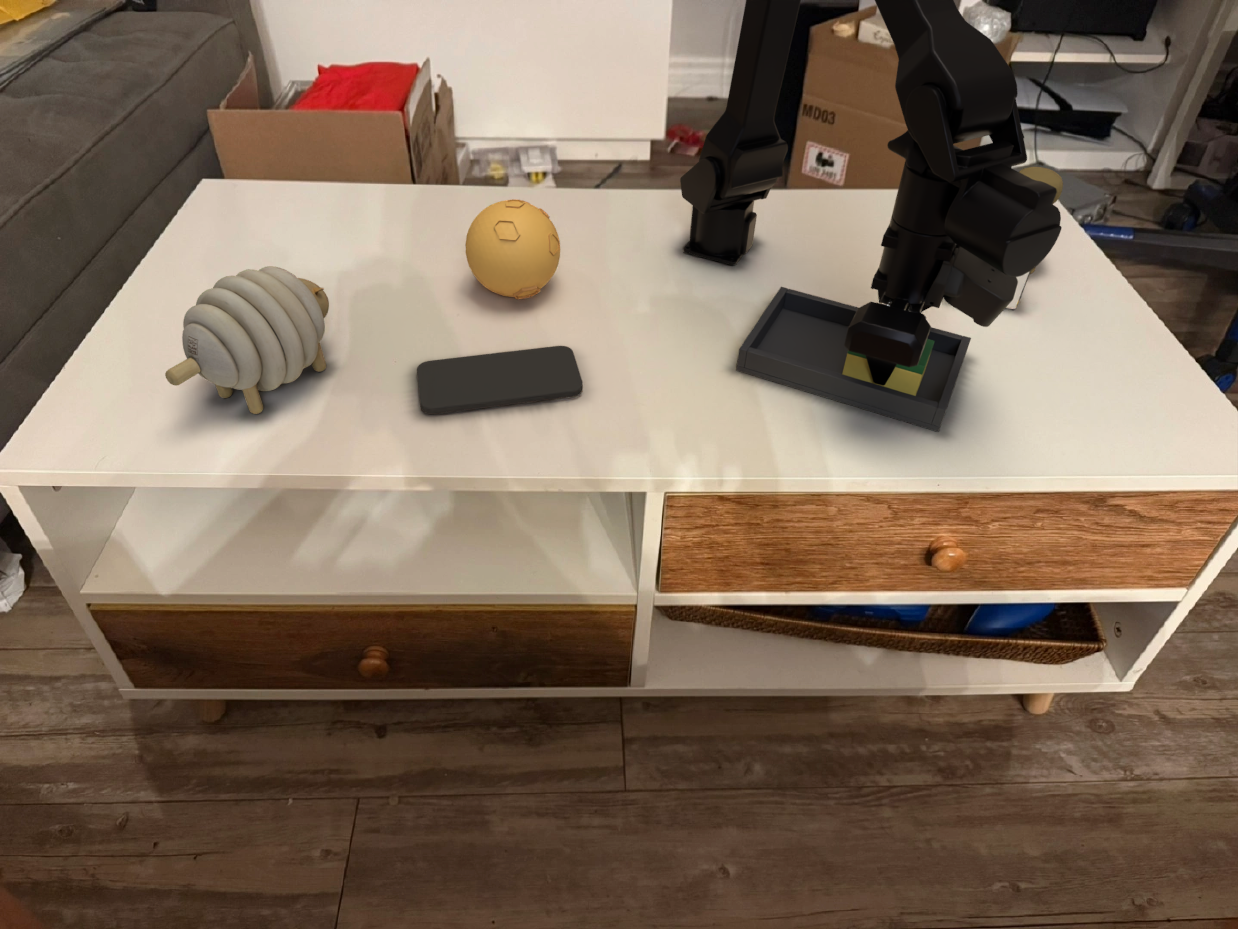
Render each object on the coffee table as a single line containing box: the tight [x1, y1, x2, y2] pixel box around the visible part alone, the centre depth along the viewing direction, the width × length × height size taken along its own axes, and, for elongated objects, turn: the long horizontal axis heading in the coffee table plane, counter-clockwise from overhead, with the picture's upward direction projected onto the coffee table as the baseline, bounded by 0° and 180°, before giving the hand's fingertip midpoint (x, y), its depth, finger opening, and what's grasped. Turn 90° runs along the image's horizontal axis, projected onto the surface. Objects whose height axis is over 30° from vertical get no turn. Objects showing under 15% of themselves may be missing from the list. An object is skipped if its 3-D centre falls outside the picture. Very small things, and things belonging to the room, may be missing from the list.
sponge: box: [842, 339, 935, 396], centre depth 84 cm, size 7×4×4 cm, turn 64°
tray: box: [735, 286, 972, 433], centre depth 87 cm, size 20×13×3 cm, turn 64°
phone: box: [416, 345, 584, 415], centre depth 84 cm, size 7×1×15 cm
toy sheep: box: [164, 265, 330, 415], centre depth 79 cm, size 11×17×11 cm, turn 152°
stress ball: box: [464, 198, 561, 300], centre depth 92 cm, size 10×10×10 cm
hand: (885, 369), depth 85 cm, fingers closed on sponge, 4 cm apart
